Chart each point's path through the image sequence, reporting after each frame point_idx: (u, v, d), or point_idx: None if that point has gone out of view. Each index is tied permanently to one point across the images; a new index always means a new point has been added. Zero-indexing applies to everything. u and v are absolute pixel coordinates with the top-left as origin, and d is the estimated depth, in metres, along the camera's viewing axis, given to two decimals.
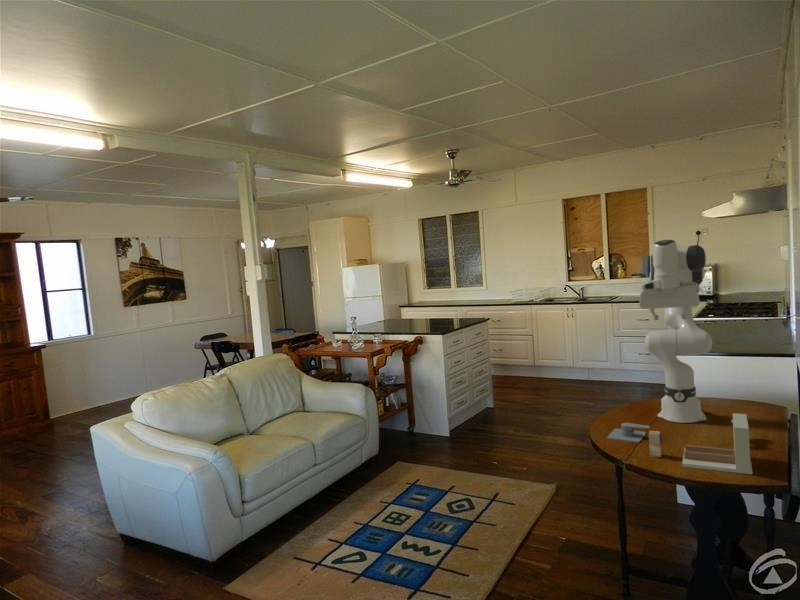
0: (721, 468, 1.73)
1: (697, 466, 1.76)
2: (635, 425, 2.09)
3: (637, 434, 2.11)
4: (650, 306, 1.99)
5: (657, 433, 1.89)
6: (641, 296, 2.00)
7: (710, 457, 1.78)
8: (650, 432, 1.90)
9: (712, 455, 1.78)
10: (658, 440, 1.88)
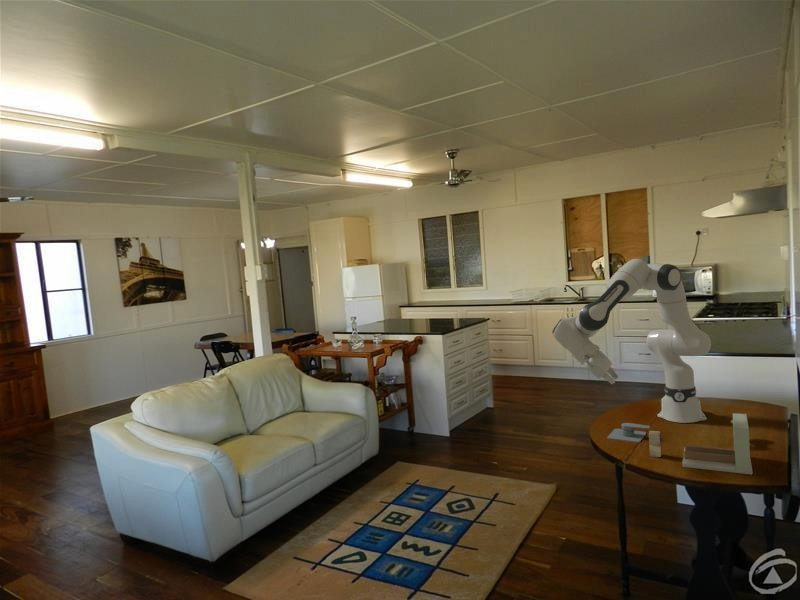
0: (721, 468, 1.73)
1: (697, 466, 1.76)
2: (635, 425, 2.09)
3: (638, 434, 2.11)
4: None
5: (657, 433, 1.89)
6: None
7: (710, 457, 1.78)
8: (650, 432, 1.90)
9: (712, 455, 1.78)
10: (658, 440, 1.88)
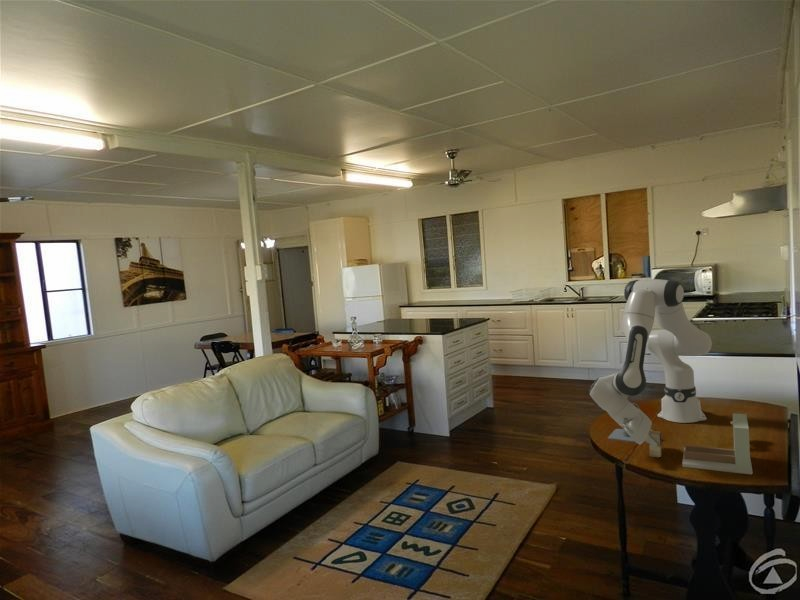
0: (721, 468, 1.73)
1: (697, 466, 1.76)
2: None
3: None
4: None
5: (657, 433, 1.89)
6: None
7: (710, 457, 1.78)
8: (650, 432, 1.90)
9: (712, 455, 1.78)
10: (658, 440, 1.88)
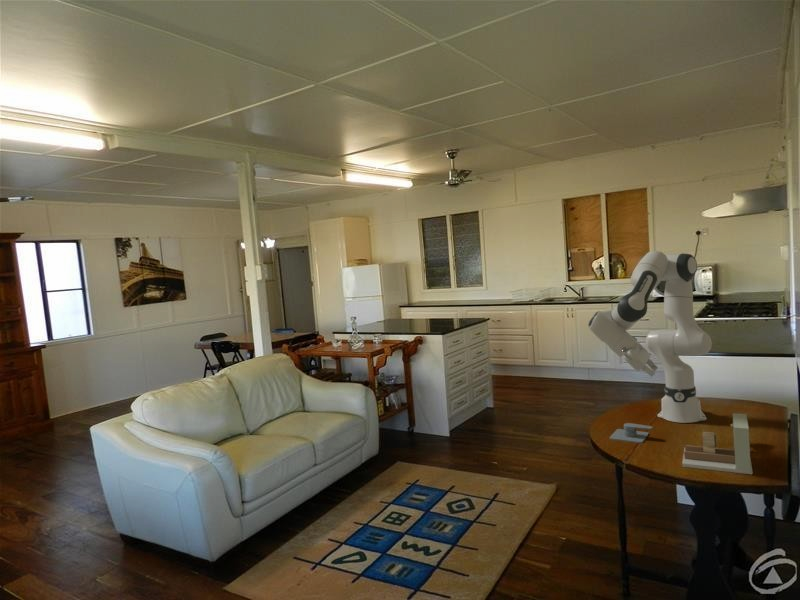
0: (721, 468, 1.73)
1: (697, 466, 1.76)
2: (638, 425, 2.08)
3: (640, 434, 2.11)
4: None
5: (711, 434, 1.80)
6: None
7: (710, 457, 1.78)
8: (704, 433, 1.81)
9: (712, 455, 1.78)
10: (713, 441, 1.79)
